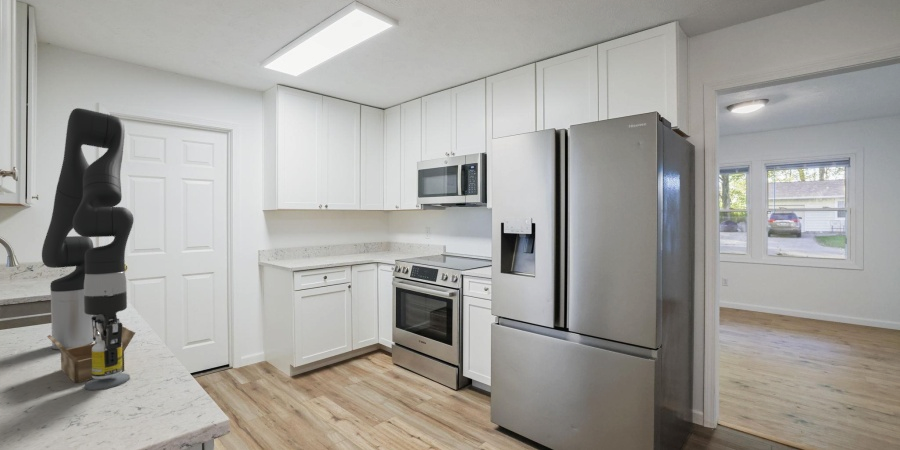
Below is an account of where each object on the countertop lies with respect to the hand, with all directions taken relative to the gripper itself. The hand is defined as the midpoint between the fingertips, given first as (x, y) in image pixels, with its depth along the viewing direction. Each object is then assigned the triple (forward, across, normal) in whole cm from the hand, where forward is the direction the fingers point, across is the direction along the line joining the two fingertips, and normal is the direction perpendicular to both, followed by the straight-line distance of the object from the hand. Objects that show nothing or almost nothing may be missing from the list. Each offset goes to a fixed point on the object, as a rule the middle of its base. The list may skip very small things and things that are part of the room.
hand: (107, 362), depth 92 cm
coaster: (+5, 0, 0) cm, 5 cm away
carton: (+5, -13, 0) cm, 14 cm away
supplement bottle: (+3, 0, 0) cm, 3 cm away
